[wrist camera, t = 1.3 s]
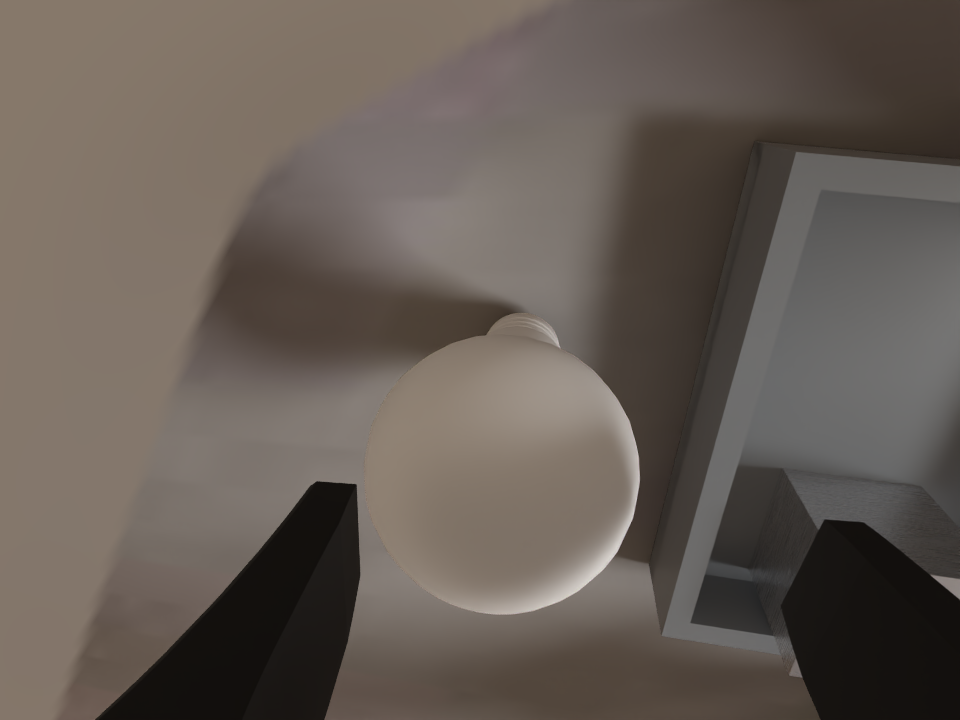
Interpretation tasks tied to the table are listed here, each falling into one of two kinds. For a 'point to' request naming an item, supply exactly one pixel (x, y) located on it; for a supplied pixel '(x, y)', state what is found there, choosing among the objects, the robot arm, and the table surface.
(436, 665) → the table surface
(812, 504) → the steel block
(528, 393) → the lightbulb
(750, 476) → the tote
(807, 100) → the table surface
